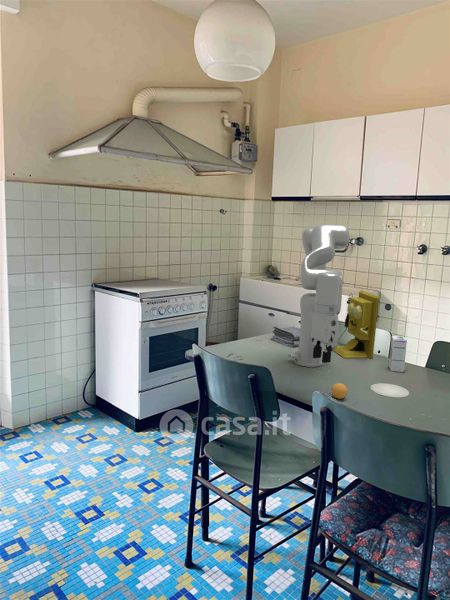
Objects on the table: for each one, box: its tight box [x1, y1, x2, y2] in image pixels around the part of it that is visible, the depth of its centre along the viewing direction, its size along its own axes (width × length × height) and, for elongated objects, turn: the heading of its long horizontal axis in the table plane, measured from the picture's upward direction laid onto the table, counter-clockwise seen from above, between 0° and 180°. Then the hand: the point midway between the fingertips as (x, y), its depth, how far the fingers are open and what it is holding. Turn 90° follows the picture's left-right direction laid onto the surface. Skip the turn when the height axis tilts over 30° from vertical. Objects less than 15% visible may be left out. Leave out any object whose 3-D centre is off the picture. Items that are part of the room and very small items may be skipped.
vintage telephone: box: [332, 289, 380, 360], centre depth 219 cm, size 31×14×30 cm, turn 9°
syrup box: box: [388, 335, 408, 373], centre depth 198 cm, size 6×6×14 cm
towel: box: [270, 325, 300, 348], centre depth 237 cm, size 15×18×8 cm
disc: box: [370, 382, 410, 399], centre depth 174 cm, size 14×14×1 cm
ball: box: [331, 383, 348, 400], centre depth 163 cm, size 6×6×6 cm
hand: (321, 359), depth 158 cm, fingers open, 4 cm apart
